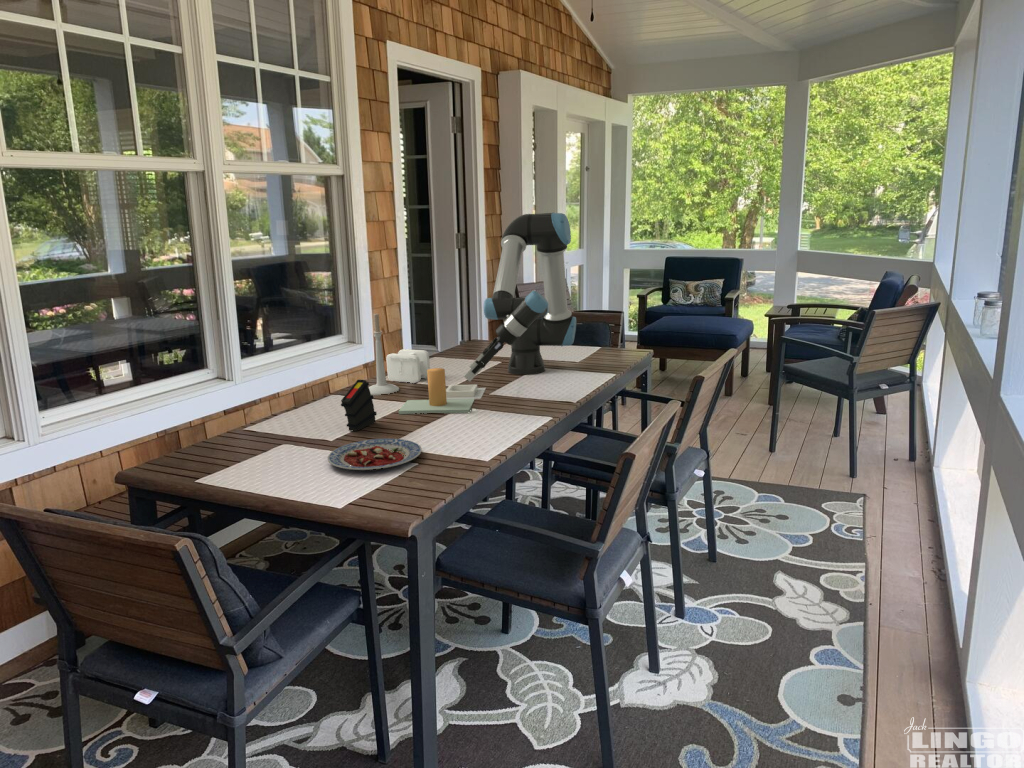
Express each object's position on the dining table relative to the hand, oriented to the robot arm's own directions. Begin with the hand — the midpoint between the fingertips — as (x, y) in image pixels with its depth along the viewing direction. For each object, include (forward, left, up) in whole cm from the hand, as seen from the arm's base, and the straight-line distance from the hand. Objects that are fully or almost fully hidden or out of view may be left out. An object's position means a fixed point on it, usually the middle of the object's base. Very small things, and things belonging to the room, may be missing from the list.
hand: (469, 374), depth 265 cm
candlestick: (+37, -22, -11) cm, 44 cm away
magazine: (+32, +26, -11) cm, 43 cm away
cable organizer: (+30, -39, -11) cm, 50 cm away
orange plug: (+11, +3, -10) cm, 15 cm away
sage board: (+11, +4, -11) cm, 16 cm away
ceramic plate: (+19, +57, -11) cm, 62 cm away
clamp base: (+5, -12, -11) cm, 17 cm away
